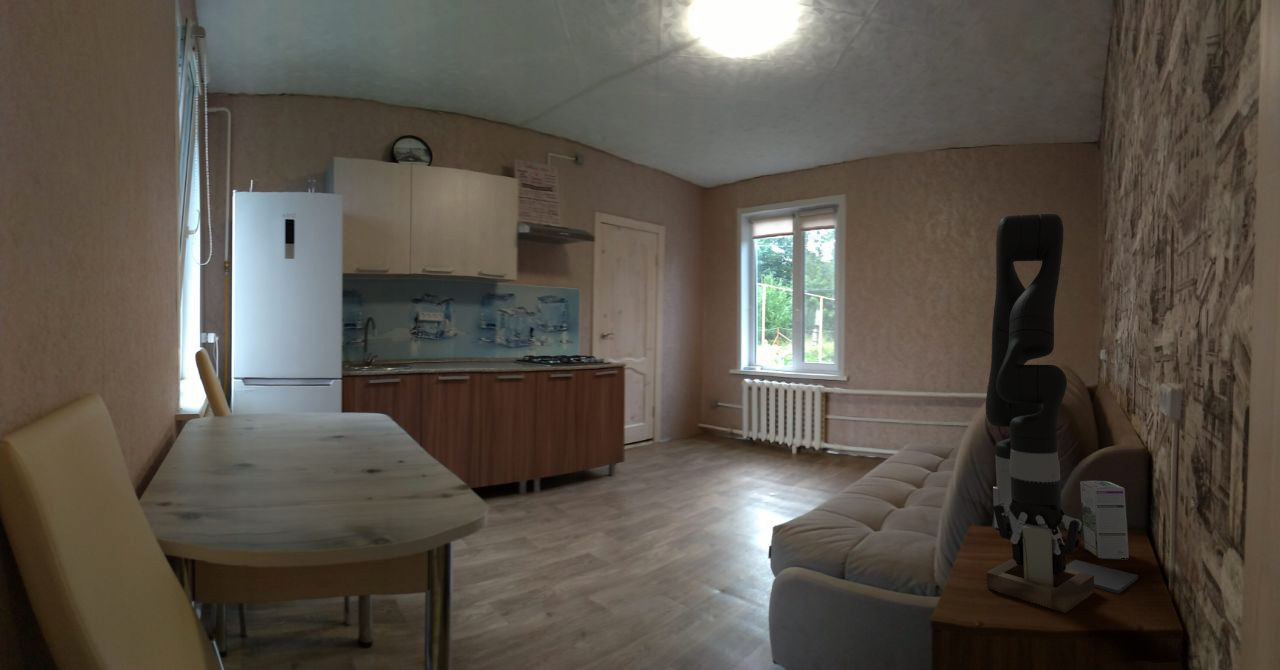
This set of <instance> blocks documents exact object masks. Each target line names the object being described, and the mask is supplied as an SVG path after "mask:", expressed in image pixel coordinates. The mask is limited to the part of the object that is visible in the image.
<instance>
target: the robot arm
mask: <svg viewBox="0 0 1280 670" xmlns="http://www.w3.org/2000/svg"><path fill="white" fill-rule="evenodd" d="M995 244H996V247H995V251H996V252H995V255H996V256H995V258H996V261H995V263H996V264H995V267H996V268H995V269H996V271H995V272H996V275H995V278H996V280H995V282H996V283H995V298H994V308H993V315H992V316H993V318H992V329H991V330H992V331H991V362H990V371H989V377H988V385H987V390H986V398H985V415H986V418H987V421H988V423H989V424H990V425H992V426H994V427H999V428H1000V427H1001V428H1009V434H1010V435H1009V438H1006V439H1003V440H999V441H997V442H996V443H995V446H994V454H995V458H994V459H995V474H996V476H995V477H996V486H993V488H992V497H993V498H992V499H993V521H994V522H993V523H994V528H995V529H998V532H999V535H1000V537H1001V538H1002V539H1006V540H1008V541H1010V542H1011V546H1012V547H1011V549H1012V558H1013V559H1014V560H1015V561H1016V564H1018V565H1023V564H1024V554H1023V524H1026V523H1027V524H1032V525H1037V526H1040V527H1041V528H1045V529H1052V550H1053V554H1052V562H1053V574H1055V575H1060V574H1061V573H1062V572H1064V571H1065V569H1066V565H1067V563H1066V561H1067V560H1066V559H1067V558H1066V555H1067V554H1069V555H1071V554H1073V553H1075V552H1076V551H1078V550H1079V547H1080V542H1081V541H1080V540H1081V537H1082V536H1081V535H1082V533H1083V523H1084V522H1083V520H1082V517H1081V518H1080V517H1076V518H1073V517H1071V516H1069V515H1066V514H1065V513H1064V511H1063V509H1062V491H1061V490H1062V487H1061V469H1060V468H1061V465H1060V460H1059V454H1058V439H1057V438H1058V437H1057V436H1058V435H1057V434H1058V433H1057V430H1058V429H1057V427H1058V418H1059V414H1060V410H1061V409H1060V408H1061V406H1062V404H1063V400H1064V398H1065V395H1066V394H1065V393H1066V391H1067V386H1068V380H1067V376H1066V374H1065V372H1064V371H1063V369H1062V368H1061V367H1059V366H1058V365H1055V364H1026V363H1027V362H1028V361H1031V360H1035V359H1039V358H1045V357H1047V356H1048V355H1050V354H1052V353H1053V351H1054V349H1055V305H1056V298H1057V291H1058V288H1059V287H1058V286H1059V280H1060V274H1061V273H1060V272H1061V265H1062V264H1061V263H1062V255H1063V247H1064V246H1063V245H1064V223H1063V220H1062V218H1061V216H1059V215H1058V214H1056V213H1039V214H1022V215H1021V214H1017V215H1016V214H1015V215H1007V216H1004V217H1002V218H1001V219H1000V220H999V223H998V225H997V229H996V241H995ZM1015 262H1041V266H1040V269H1039V272H1038V273H1037V275H1036V276H1035V278H1034V279H1033V281H1032V282H1031V283H1030V284H1029V286H1027V288H1026V287H1025V286H1024V284H1023V283H1022V281H1021V280H1020V277H1019V276H1018V273H1017V271H1016V267H1015V265H1014V263H1015ZM1061 523H1063V524H1064V527H1065V529H1066V530H1067V533H1066V534H1067V535H1066V539H1065V542H1064V540H1063V538H1062V537H1063V535H1062V533H1061V530H1060V528H1059V527H1058V526H1059V525H1060V524H1061Z"/></svg>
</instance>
